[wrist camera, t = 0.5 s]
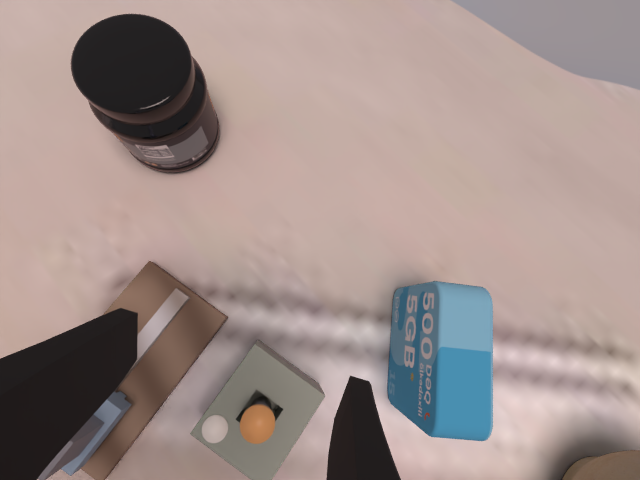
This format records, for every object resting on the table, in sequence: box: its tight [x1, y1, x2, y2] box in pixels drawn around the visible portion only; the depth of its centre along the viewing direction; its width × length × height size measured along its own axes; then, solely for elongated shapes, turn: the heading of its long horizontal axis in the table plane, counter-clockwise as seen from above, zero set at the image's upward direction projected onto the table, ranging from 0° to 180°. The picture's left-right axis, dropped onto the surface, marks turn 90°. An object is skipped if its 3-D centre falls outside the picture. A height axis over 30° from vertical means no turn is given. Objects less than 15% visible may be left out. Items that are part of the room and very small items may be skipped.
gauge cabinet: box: [190, 340, 325, 480], centre depth 32 cm, size 9×8×5 cm
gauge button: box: [240, 397, 275, 444], centre depth 29 cm, size 3×3×5 cm
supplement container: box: [71, 14, 219, 172], centre depth 34 cm, size 10×10×12 cm
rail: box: [81, 261, 228, 480], centre depth 33 cm, size 18×10×2 cm, turn 144°
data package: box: [388, 281, 493, 441], centre depth 32 cm, size 12×4×12 cm, turn 173°
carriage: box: [38, 391, 132, 480], centre depth 28 cm, size 6×6×7 cm
